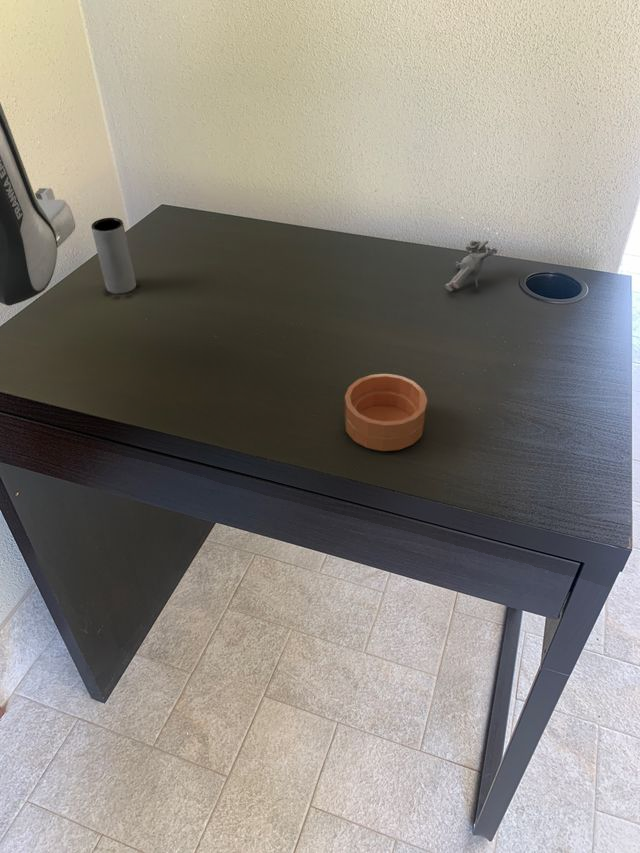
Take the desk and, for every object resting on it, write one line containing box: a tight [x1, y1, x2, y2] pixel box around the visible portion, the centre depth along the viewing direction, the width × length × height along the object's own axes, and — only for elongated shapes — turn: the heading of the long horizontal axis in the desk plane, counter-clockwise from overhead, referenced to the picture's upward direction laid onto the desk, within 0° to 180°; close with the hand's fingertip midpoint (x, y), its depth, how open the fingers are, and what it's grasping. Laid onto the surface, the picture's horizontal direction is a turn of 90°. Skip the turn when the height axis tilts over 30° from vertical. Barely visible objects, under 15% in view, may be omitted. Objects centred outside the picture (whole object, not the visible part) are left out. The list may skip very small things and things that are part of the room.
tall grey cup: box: [91, 217, 137, 295], centre depth 103 cm, size 4×4×10 cm
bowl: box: [343, 373, 428, 452], centre depth 79 cm, size 9×9×4 cm
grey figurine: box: [444, 240, 498, 293], centre depth 104 cm, size 10×6×9 cm
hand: (13, 193), depth 87 cm, fingers open, 8 cm apart
